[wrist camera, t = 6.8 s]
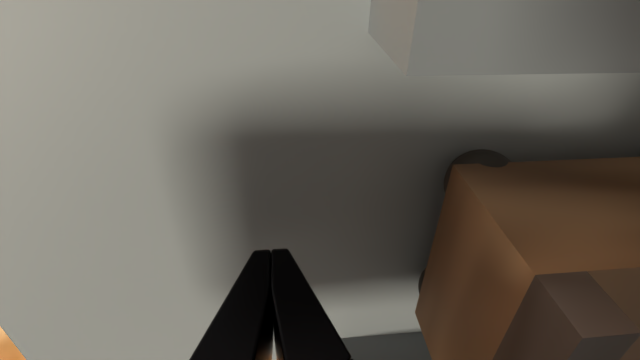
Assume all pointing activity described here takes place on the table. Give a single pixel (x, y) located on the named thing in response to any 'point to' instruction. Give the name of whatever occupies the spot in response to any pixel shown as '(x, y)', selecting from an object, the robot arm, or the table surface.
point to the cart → (534, 261)
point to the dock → (272, 151)
